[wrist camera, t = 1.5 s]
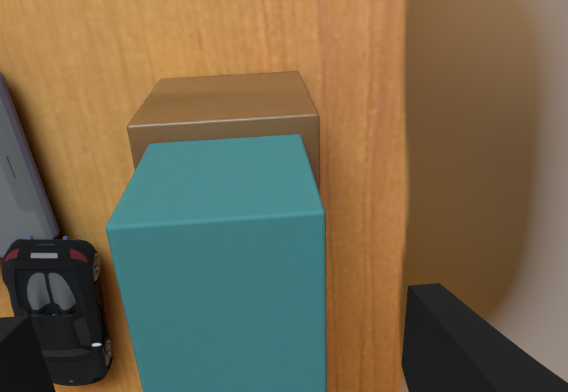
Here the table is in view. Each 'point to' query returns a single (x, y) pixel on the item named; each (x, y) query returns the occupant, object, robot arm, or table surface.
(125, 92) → the table surface
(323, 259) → the teal block
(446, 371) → the robot arm
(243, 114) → the brown rounded cube
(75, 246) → the toy car
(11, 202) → the smartphone
